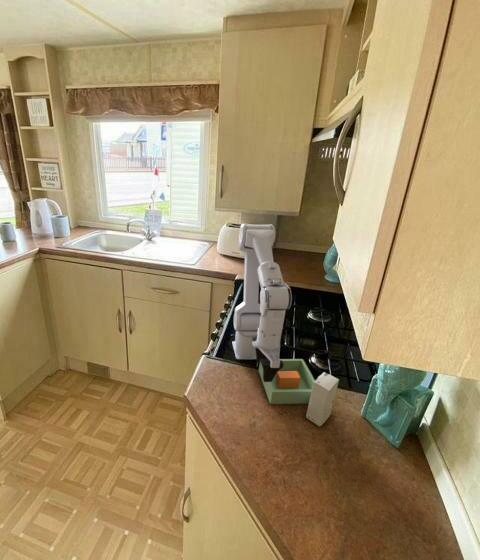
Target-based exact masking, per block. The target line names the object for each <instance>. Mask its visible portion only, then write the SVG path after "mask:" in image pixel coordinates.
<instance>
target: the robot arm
mask: <svg viewBox="0 0 480 560" xmlns="http://www.w3.org/2000/svg"><path fill="white" fill-rule="evenodd" d="M275 240H276V227H275V225H273V224H272V223H270V224H246V223H242V224H241V225H240V226H239V230H238V249H239V251H241V252H243V255H244V273H243V301H242V302H241V303H240V304H238V305H237V306H236V307H235V308H234V314H233V328H234V329H233V330H235V336H234V337H235V338H234V341H232V342H231V344H232V348H233V352H234V355H235V359H236V360H256V362H257V363H260V362H261V365H262V368H263V380H264V382H272V380H273V378H274V377H275V375H276V373H277V372H278V371H279V370H280V369H281V368H283V366H284V364H283V361H282V360H279V359H280V351H281V340H282V334H283V329H284V328H283V327H284V321H285V316H286V311H287V310H290V308H291V306H292V302H293V295H292V290H291V289H292V288H291V287H290V286H289V285H288V284H287V282H284V279H283V275H282V271H281V267H280V265H279V263H277V262H276V261H275V262H274V255H273V250H272V249H273V248H272V247H273V245H274V243H275ZM259 287H260V289H259ZM259 290H260V292H259Z"/></svg>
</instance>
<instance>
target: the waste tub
mask: <svg viewBox="0 0 480 560" xmlns="http://www.w3.org/2000/svg"><path fill="white" fill-rule="evenodd" d="M279 360H282V361H283V364H284V366H283V368H281V369H280V370H279V371H297V372H298V374H299V376H300V383H299V387H298V388H282V389H278V386H277V384H276V376H277V373H276V375H275V377H274V378H273V380H272V382H264V380H263V368H262V365H261V362H259V366H258V373H259V376H260V379H261V382H262V385H263V388H264V390H265V393H266V396H267V399H268V402H269V405H296V404H297V405H298V404H301V405H303V404H309V401H310V396H311V392H312V387H313V383H314V382H315V380H316V379H315V378H314V376H313V374H312V372H311V370H310V369H309V367H308V365H307V364H306V362H305V360H304V359H303V358H279Z"/></svg>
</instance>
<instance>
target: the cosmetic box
mask: <svg viewBox="0 0 480 560" xmlns="http://www.w3.org/2000/svg"><path fill="white" fill-rule="evenodd" d="M314 380H315V382H314V383H313V387H312V392H311V396H310V401H309V403H308V404H307V405H308V406H307V409H306V410H307V411H306V415H305V418H306V419H307V420H309V421H311V423H314V424H315V425H317V426H318V427H321V426H322V425H323V424H324V423H326V421H327V420H328V419H329V418H330V416H331V413H332V409H333V405H334V403H335V398H336V395H337V390H338V386H339V382H340V379H339V378H337V377H335V376H333V375H331V374H329V373H327V372H325V371H324V372H322V373H321V374H320V375H319V376H317V378H316V379H314Z"/></svg>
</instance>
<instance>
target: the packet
mask: <svg viewBox="0 0 480 560" xmlns="http://www.w3.org/2000/svg"><path fill="white" fill-rule="evenodd" d="M299 383H300V376H299V374H298V372H297V371H278V372H277V376H276V384H277V386H278V389H282V388H298V387H299Z"/></svg>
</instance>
